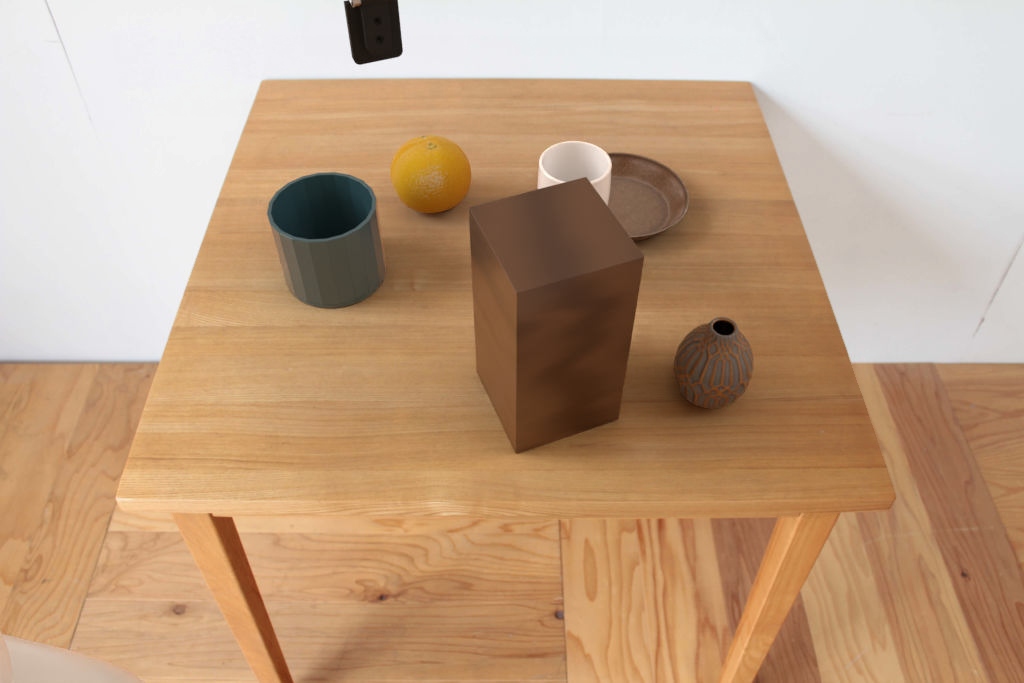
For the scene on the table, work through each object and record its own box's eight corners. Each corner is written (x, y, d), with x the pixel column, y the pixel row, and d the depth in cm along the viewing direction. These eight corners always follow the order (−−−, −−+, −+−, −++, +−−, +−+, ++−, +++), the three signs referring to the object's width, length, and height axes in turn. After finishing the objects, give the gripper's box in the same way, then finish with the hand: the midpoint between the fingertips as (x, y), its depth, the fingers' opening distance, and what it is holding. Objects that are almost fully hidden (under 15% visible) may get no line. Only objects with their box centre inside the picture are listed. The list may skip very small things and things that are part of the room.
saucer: (656, 161, 102) (659, 142, 100) (706, 241, 92) (711, 222, 90) (538, 181, 99) (538, 162, 97) (576, 266, 90) (578, 247, 88)
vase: (665, 360, 81) (679, 296, 75) (738, 362, 81) (758, 298, 74) (672, 419, 77) (686, 356, 70) (749, 421, 77) (771, 359, 70)
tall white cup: (601, 304, 86) (615, 185, 75) (534, 303, 86) (538, 184, 75) (598, 258, 91) (610, 140, 79) (534, 257, 91) (538, 139, 79)
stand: (515, 454, 74) (516, 293, 59) (476, 371, 80) (468, 206, 65) (618, 419, 77) (645, 256, 62) (573, 342, 83) (586, 176, 68)
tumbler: (298, 319, 85) (279, 253, 78) (276, 253, 91) (258, 186, 84) (398, 292, 87) (388, 225, 81) (371, 229, 94) (360, 162, 87)
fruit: (449, 171, 100) (445, 112, 94) (485, 208, 96) (483, 149, 90) (382, 197, 97) (373, 138, 91) (415, 236, 93) (409, 177, 87)
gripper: (214, -315, 49) (274, -21, 62) (278, -234, 38) (335, 101, 51) (341, -325, 51) (374, -39, 64) (436, -251, 40) (453, 76, 53)
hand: (357, 23), depth 57 cm, fingers open, 9 cm apart
